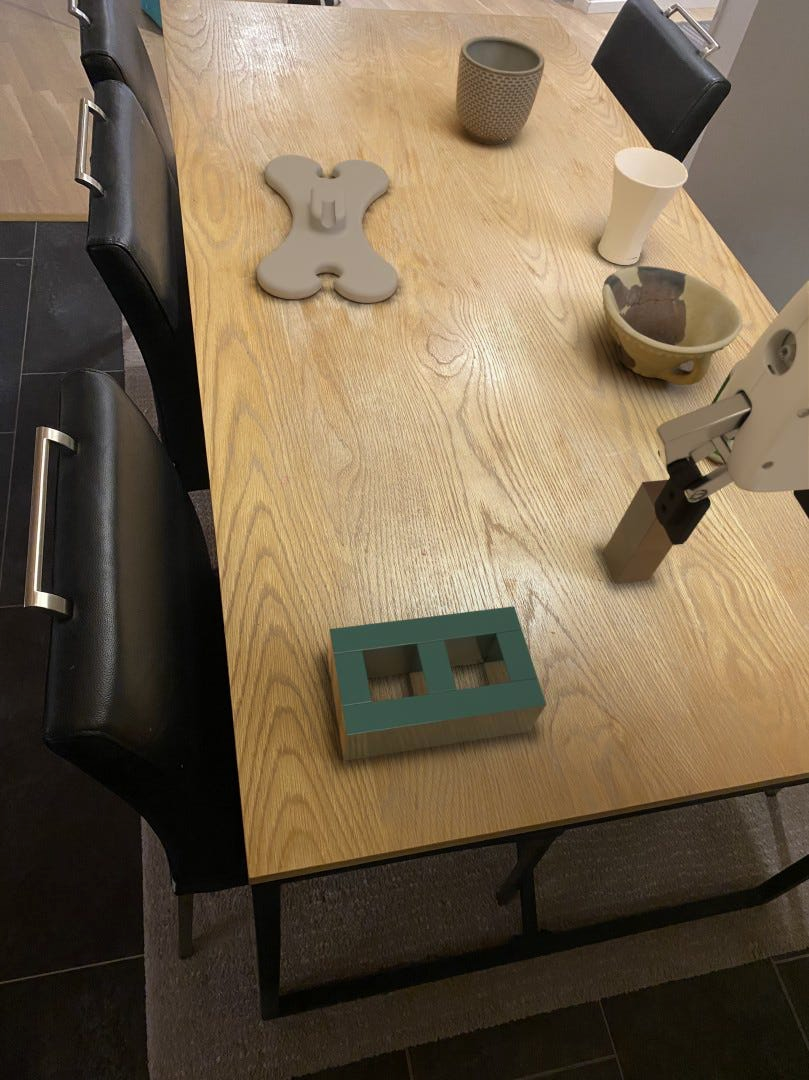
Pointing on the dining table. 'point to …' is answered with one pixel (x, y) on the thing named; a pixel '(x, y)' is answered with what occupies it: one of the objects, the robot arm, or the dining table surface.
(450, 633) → the stand
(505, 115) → the planter
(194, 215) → the dining table surface
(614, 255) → the cup
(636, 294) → the bowl
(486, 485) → the dining table surface
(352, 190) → the holder
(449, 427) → the dining table surface
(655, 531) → the peg
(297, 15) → the dining table surface
